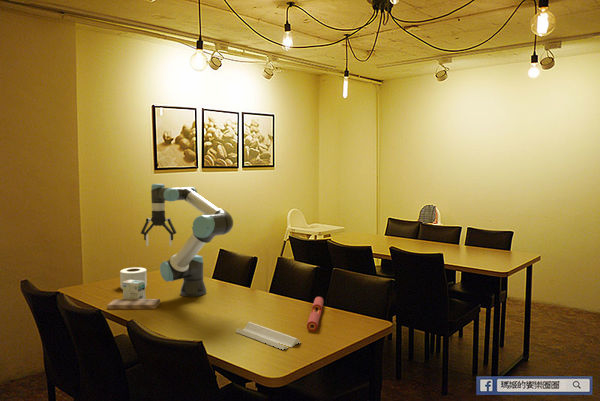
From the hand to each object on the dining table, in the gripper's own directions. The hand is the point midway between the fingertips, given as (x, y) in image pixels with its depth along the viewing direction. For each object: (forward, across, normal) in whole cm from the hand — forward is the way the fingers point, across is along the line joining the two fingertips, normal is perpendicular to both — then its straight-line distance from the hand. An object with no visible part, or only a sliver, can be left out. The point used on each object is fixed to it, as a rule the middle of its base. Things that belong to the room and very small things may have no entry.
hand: (158, 245), depth 286 cm
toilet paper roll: (+29, +20, -16) cm, 39 cm away
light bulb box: (+29, +11, +13) cm, 34 cm away
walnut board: (+29, +8, +25) cm, 39 cm away
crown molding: (+30, -66, +74) cm, 104 cm away
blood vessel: (+29, -90, +45) cm, 105 cm away
